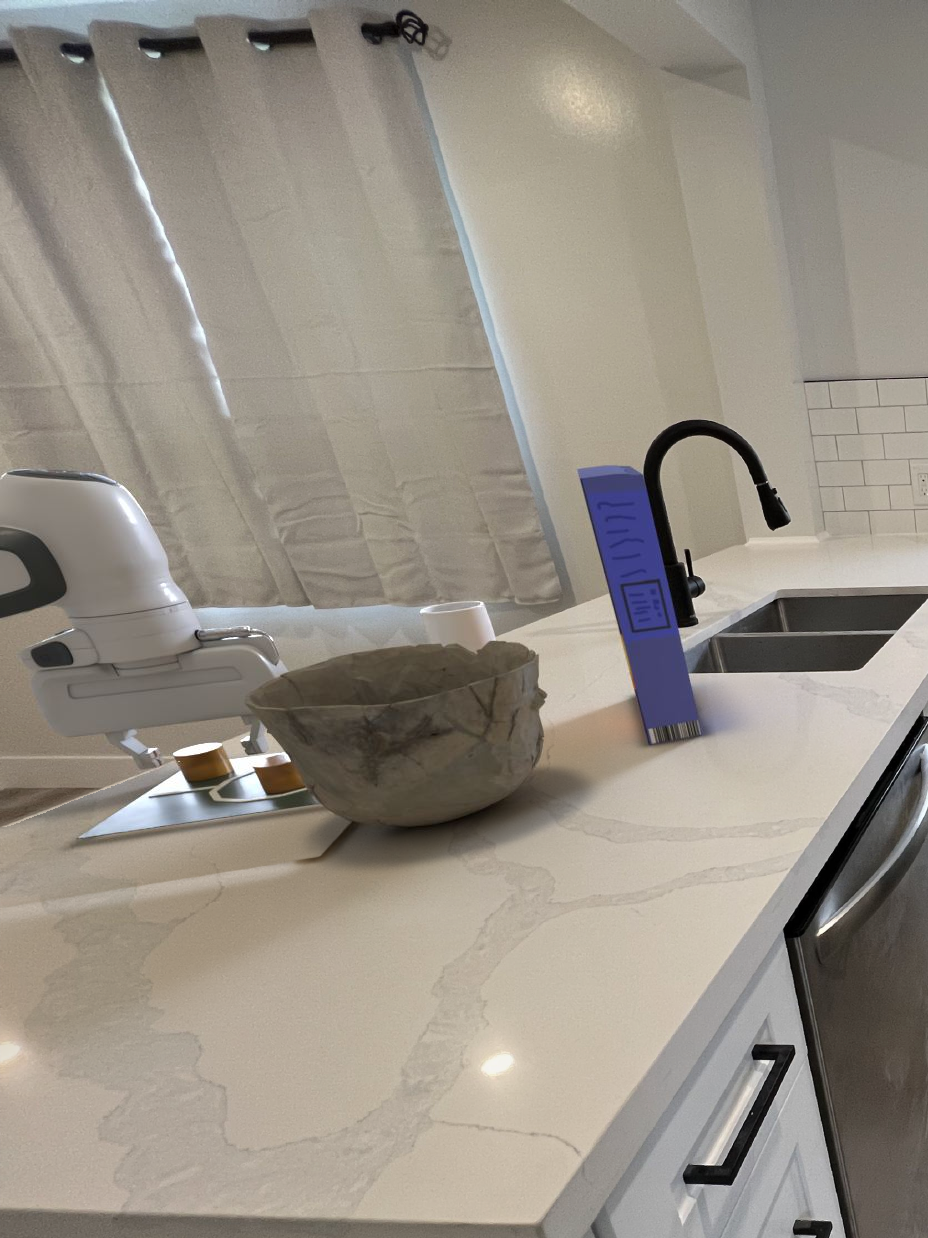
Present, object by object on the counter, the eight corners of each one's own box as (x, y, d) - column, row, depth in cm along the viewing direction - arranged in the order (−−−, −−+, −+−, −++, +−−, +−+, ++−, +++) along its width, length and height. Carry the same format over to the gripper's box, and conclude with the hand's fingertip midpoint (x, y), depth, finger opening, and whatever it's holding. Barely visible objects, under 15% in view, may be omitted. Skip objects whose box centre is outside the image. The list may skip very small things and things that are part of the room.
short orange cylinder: (177, 784, 92) (164, 758, 91) (197, 770, 96) (184, 746, 94) (223, 778, 93) (210, 752, 92) (241, 765, 97) (229, 740, 96)
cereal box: (636, 699, 118) (576, 466, 105) (682, 691, 120) (629, 463, 108) (649, 747, 100) (579, 476, 88) (703, 737, 103) (642, 472, 90)
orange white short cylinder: (257, 796, 88) (244, 769, 87) (274, 782, 92) (262, 756, 91) (303, 789, 90) (291, 763, 88) (319, 776, 93) (307, 750, 92)
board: (80, 848, 81) (74, 837, 80) (193, 772, 98) (189, 763, 98) (332, 810, 87) (328, 801, 86) (397, 745, 104) (394, 737, 104)
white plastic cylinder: (531, 718, 112) (495, 603, 106) (476, 734, 107) (435, 614, 100) (504, 710, 115) (468, 598, 109) (450, 725, 110) (408, 609, 104)
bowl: (608, 806, 85) (566, 660, 79) (338, 894, 71) (260, 724, 65) (533, 755, 99) (492, 627, 93) (295, 820, 85) (228, 674, 79)
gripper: (279, 617, 94) (330, 735, 100) (39, 641, 88) (109, 765, 94) (251, 630, 88) (307, 753, 94) (-6, 656, 83) (71, 786, 88)
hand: (206, 759), depth 94 cm, fingers open, 8 cm apart
